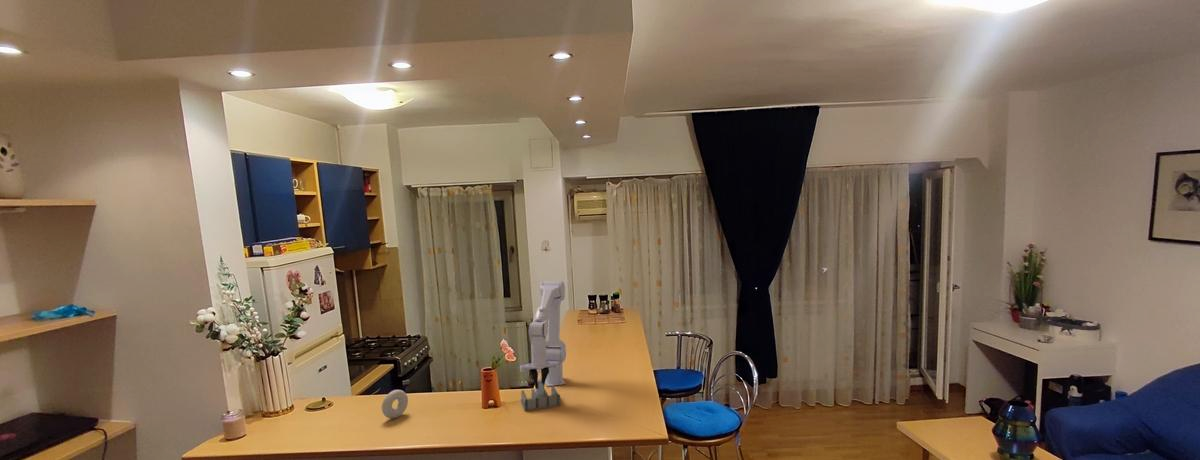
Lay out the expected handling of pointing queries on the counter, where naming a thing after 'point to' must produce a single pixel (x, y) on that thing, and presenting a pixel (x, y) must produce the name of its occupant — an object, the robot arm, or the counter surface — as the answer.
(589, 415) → the counter surface
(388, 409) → the donut
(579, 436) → the counter surface
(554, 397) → the rack
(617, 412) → the counter surface
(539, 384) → the plate
